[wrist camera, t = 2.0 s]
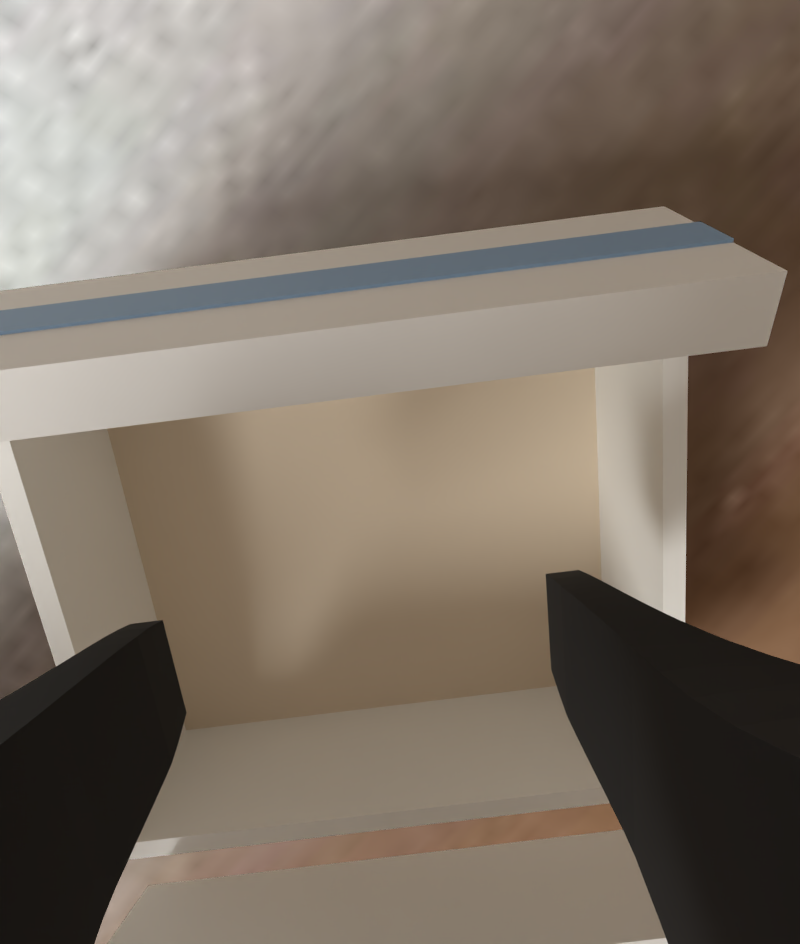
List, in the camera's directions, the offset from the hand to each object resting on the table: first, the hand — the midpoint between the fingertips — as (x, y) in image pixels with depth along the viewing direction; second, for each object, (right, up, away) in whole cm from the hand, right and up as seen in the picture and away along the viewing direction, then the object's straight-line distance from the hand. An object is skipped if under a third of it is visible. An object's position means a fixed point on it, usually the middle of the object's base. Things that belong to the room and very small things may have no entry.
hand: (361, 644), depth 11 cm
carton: (0, +1, +6) cm, 6 cm away
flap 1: (-1, +5, -2) cm, 6 cm away
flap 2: (+1, -6, +1) cm, 6 cm away
